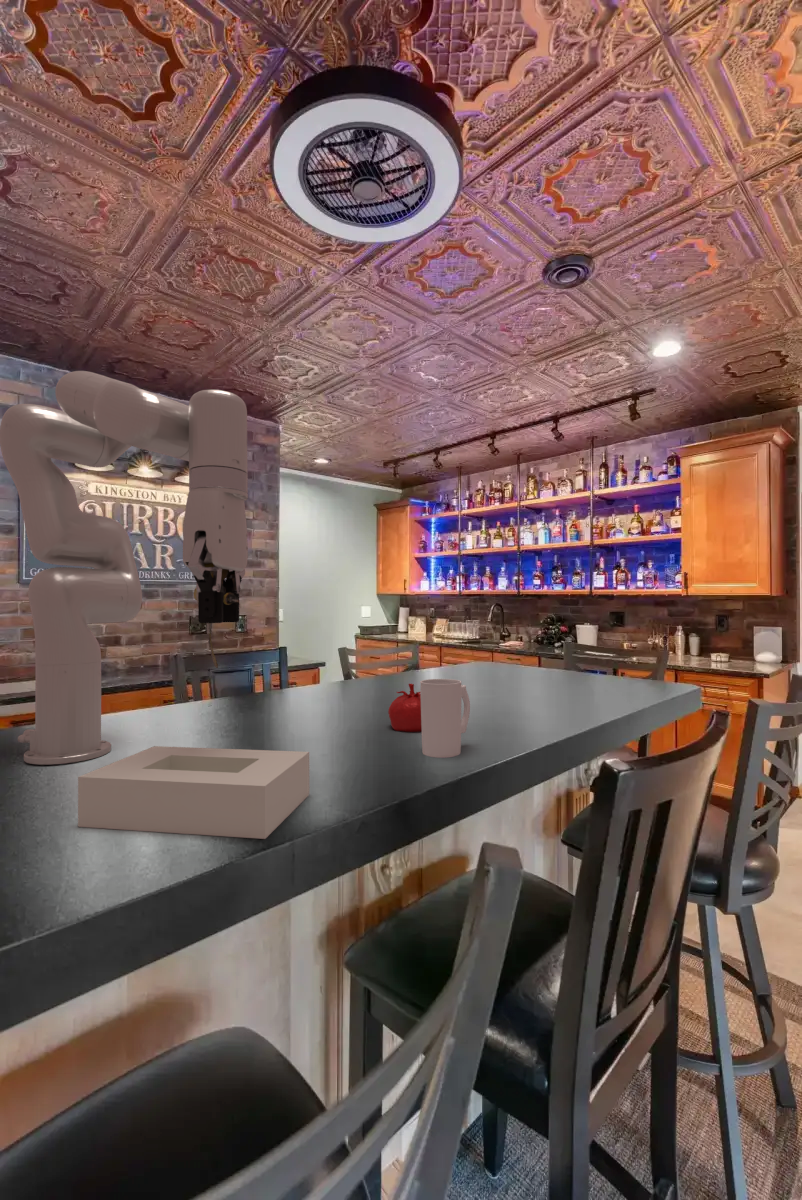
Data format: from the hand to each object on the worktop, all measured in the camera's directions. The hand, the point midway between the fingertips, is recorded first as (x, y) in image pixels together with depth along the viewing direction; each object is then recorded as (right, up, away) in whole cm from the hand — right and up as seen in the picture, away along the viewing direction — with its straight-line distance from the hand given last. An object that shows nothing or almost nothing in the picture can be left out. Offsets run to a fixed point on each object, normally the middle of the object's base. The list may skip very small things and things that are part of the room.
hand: (219, 621), depth 75 cm
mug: (+32, -23, +17) cm, 43 cm away
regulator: (0, -6, 0) cm, 6 cm away
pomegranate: (+27, -23, +34) cm, 49 cm away
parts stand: (+1, -22, -8) cm, 24 cm away
